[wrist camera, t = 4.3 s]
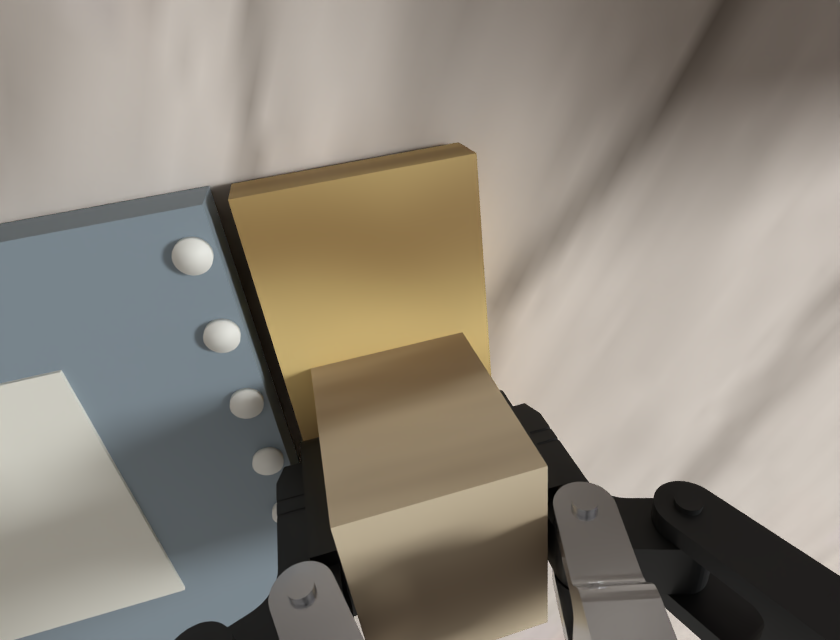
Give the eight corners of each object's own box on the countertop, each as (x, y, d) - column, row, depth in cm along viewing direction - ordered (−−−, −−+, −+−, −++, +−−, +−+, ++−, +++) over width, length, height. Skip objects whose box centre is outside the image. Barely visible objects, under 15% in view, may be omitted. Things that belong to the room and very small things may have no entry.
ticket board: (-424, 300, 10) (-537, 345, 9) (209, 185, 12) (201, 207, 11) (-29, 674, 17) (-56, 733, 16) (333, 566, 19) (338, 610, 18)
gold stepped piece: (231, 184, 12) (202, 309, 7) (458, 142, 13) (594, 225, 8) (347, 567, 19) (379, 777, 14) (489, 525, 20) (571, 707, 15)
